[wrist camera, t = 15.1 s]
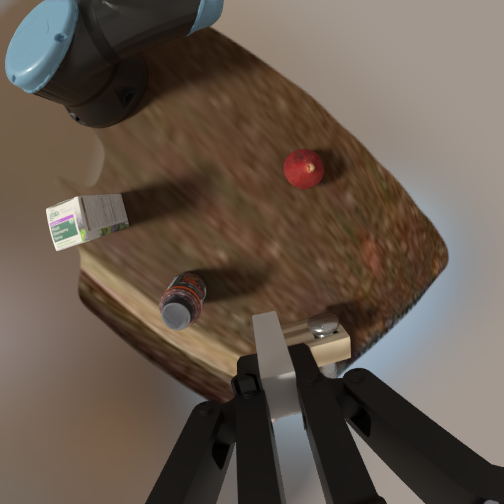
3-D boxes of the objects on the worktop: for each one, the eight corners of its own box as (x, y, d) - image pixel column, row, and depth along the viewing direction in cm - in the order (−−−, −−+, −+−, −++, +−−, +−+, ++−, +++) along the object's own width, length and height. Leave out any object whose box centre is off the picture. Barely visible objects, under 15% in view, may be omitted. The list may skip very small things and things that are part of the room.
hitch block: (265, 328, 49) (272, 356, 40) (332, 312, 49) (349, 336, 41) (269, 347, 50) (276, 376, 41) (334, 331, 50) (350, 357, 41)
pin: (304, 317, 46) (311, 331, 42) (332, 310, 46) (342, 323, 42) (312, 378, 49) (318, 394, 44) (337, 371, 49) (346, 386, 45)
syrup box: (101, 235, 44) (55, 254, 30) (92, 201, 43) (43, 209, 29) (130, 226, 44) (89, 243, 30) (121, 191, 43) (77, 194, 29)
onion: (273, 162, 43) (281, 157, 35) (304, 145, 43) (318, 137, 35) (291, 195, 44) (303, 196, 37) (322, 178, 44) (339, 176, 36)
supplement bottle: (212, 280, 47) (206, 308, 36) (198, 310, 48) (189, 344, 37) (179, 264, 46) (162, 288, 35) (166, 295, 47) (148, 325, 36)
